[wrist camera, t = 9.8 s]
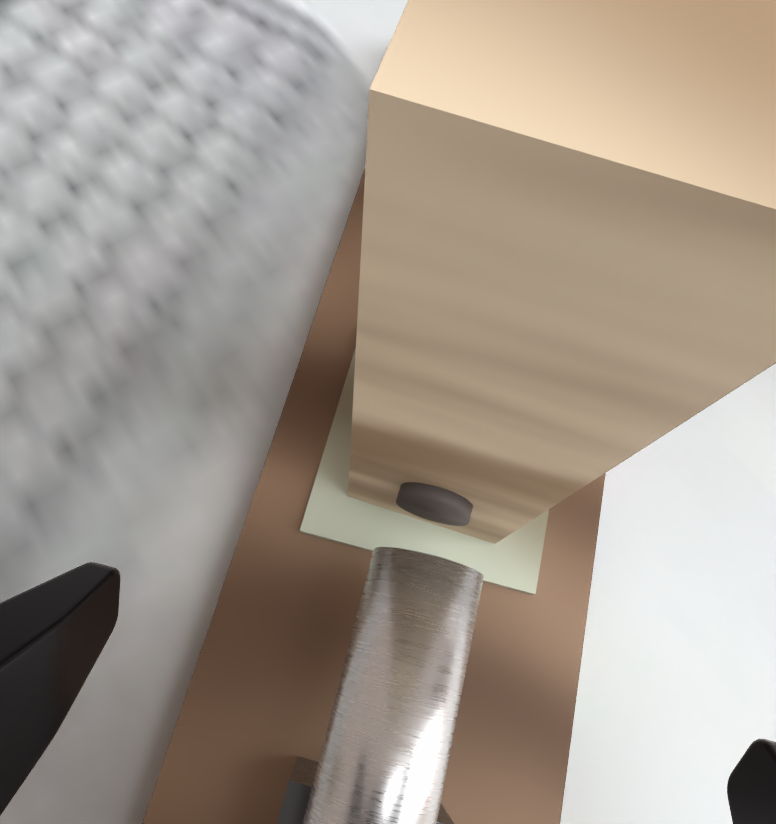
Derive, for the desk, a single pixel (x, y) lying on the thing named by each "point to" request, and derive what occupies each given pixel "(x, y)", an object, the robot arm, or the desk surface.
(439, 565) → the shafts
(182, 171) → the desk surface
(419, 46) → the tan wood post
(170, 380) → the desk surface
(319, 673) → the base board
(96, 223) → the desk surface
